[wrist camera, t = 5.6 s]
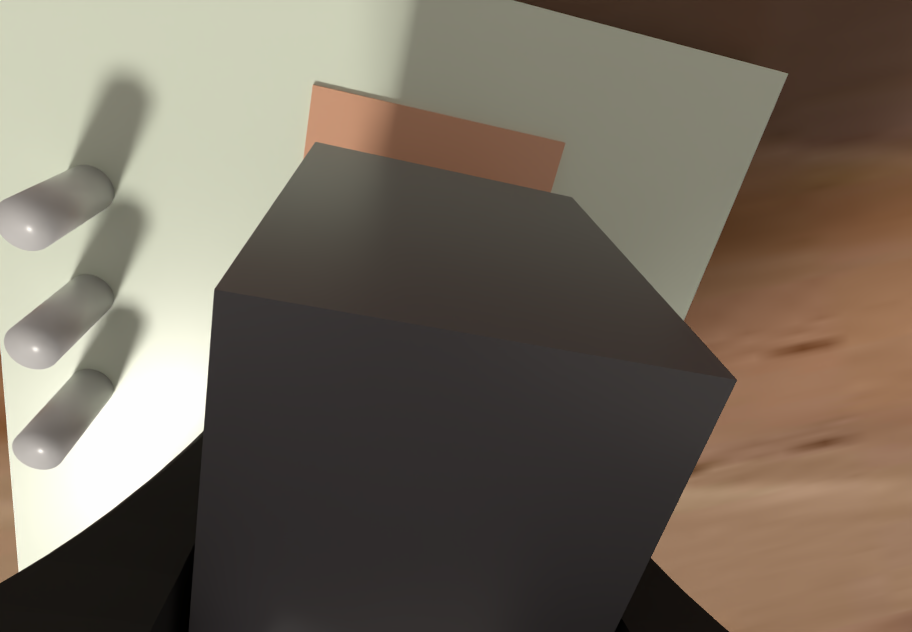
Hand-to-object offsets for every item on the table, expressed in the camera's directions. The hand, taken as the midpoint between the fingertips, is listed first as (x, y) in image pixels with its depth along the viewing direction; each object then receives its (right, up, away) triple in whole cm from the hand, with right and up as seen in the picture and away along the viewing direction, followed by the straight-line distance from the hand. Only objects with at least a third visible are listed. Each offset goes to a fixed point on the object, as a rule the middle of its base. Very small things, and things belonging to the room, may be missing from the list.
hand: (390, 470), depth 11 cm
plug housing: (0, -1, +2) cm, 2 cm away
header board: (-2, +2, +6) cm, 6 cm away
